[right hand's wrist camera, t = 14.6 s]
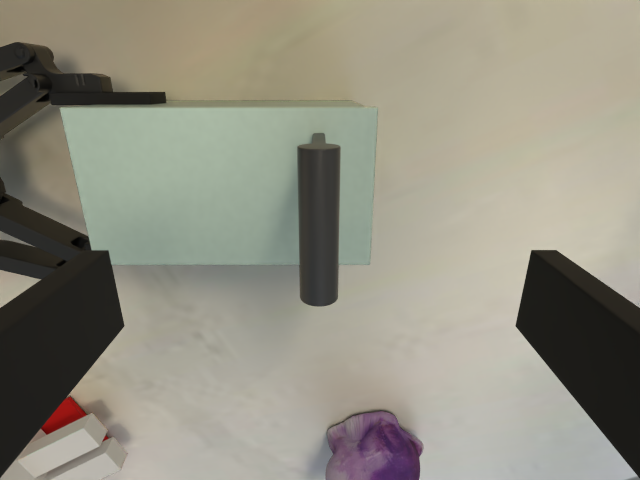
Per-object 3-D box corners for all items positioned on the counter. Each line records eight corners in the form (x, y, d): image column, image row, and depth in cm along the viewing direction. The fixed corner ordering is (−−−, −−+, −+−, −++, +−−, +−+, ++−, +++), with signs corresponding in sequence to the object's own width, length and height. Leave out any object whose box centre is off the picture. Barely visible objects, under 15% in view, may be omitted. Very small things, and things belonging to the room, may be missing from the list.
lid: (376, 106, 23) (404, 116, 16) (368, 260, 27) (388, 329, 19) (67, 106, 23) (-57, 116, 15) (101, 260, 27) (13, 330, 19)
